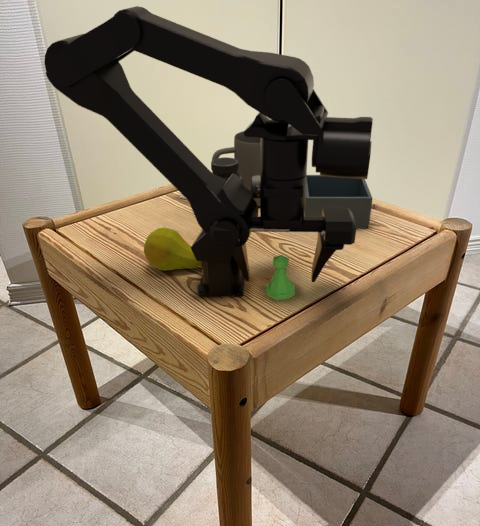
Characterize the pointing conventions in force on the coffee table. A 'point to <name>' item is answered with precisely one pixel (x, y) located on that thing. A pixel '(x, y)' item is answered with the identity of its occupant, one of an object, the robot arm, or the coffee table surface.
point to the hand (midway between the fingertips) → (280, 280)
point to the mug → (245, 157)
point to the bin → (338, 197)
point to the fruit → (169, 250)
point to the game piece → (280, 280)
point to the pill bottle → (225, 168)
